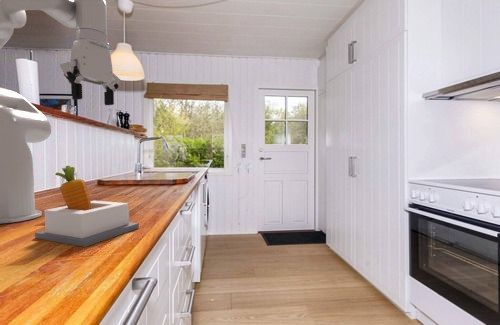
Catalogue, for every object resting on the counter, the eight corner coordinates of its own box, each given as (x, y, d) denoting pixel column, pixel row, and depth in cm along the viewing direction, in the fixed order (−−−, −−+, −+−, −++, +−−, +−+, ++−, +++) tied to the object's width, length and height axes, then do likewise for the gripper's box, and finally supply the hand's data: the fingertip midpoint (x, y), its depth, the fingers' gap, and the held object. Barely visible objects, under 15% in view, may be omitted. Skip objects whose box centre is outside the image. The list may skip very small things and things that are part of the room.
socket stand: (35, 238, 60) (33, 210, 60) (93, 222, 73) (92, 199, 73) (84, 247, 54) (83, 215, 53) (138, 228, 67) (138, 203, 66)
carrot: (89, 229, 60) (66, 164, 59) (70, 234, 61) (47, 170, 59) (103, 221, 65) (83, 161, 64) (85, 226, 66) (65, 166, 64)
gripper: (109, 53, 86) (111, 107, 86) (51, 31, 70) (53, 98, 71) (127, 49, 83) (128, 105, 83) (69, 25, 67) (72, 95, 68)
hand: (94, 102), depth 77 cm, fingers open, 9 cm apart
